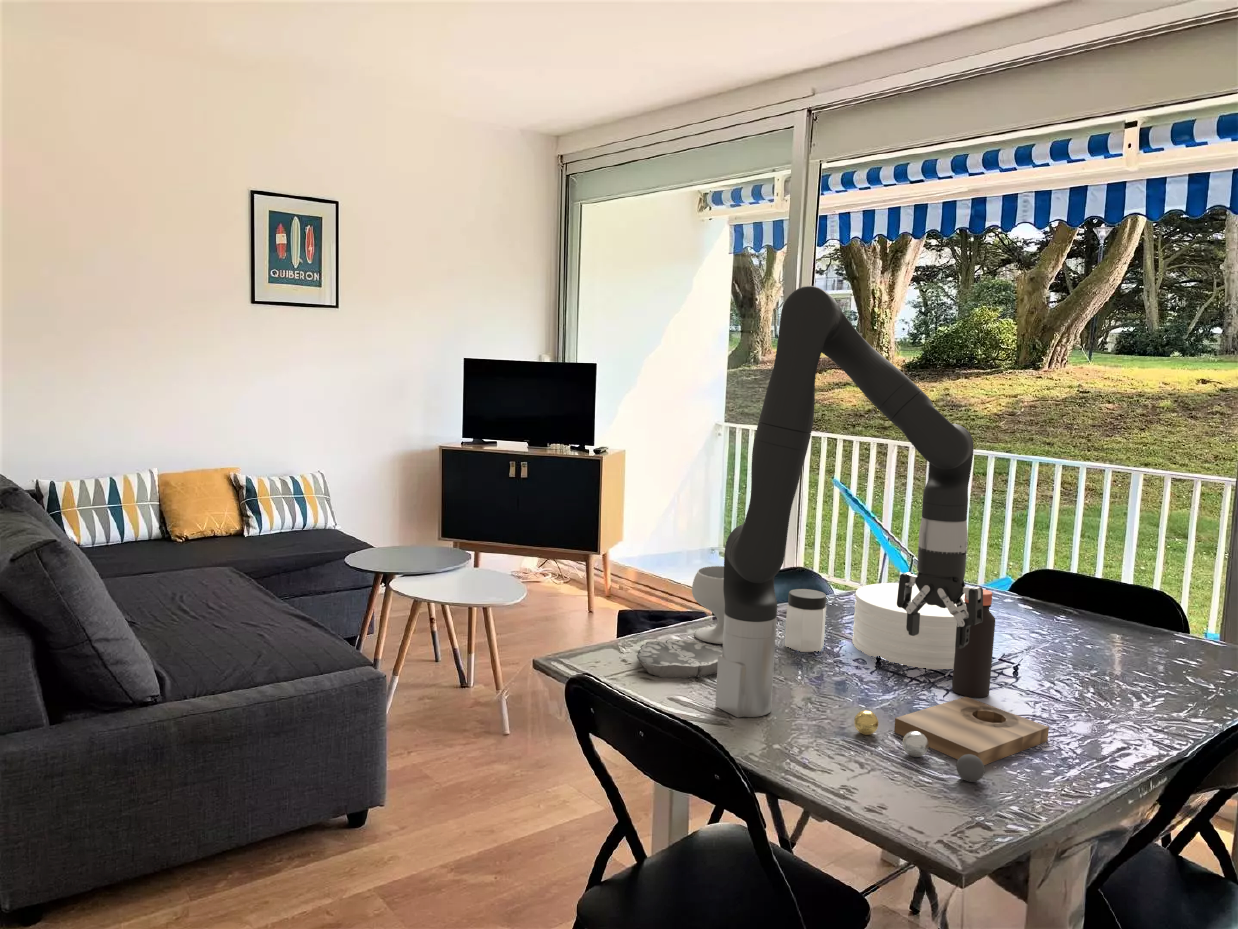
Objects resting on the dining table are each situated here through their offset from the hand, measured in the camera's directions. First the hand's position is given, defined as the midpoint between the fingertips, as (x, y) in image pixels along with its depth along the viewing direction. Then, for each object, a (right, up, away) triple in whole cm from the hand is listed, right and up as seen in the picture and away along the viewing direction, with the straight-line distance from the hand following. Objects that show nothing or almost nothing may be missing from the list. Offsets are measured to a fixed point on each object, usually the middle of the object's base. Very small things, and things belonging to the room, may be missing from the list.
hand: (936, 641), depth 154 cm
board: (+7, -17, +3) cm, 18 cm away
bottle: (+15, -15, +25) cm, 32 cm away
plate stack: (+13, -12, +51) cm, 54 cm away
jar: (-12, -11, +49) cm, 52 cm away
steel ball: (-5, -16, -6) cm, 17 cm away
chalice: (-30, -10, +54) cm, 62 cm away
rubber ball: (0, -17, -14) cm, 22 cm away
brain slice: (-41, -12, +34) cm, 54 cm away
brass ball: (-11, -14, +2) cm, 18 cm away
